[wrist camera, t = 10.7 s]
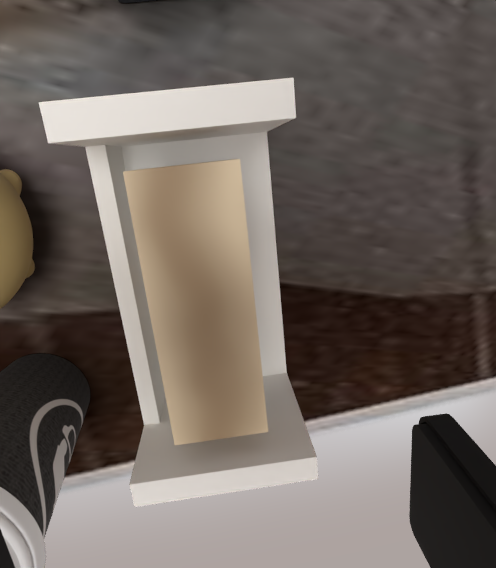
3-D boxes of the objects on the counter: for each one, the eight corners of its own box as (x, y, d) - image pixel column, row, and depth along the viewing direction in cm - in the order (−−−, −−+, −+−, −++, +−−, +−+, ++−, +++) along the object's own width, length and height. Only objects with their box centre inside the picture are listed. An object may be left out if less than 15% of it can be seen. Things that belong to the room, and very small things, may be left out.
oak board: (234, 158, 21) (239, 159, 17) (259, 391, 25) (268, 431, 22) (138, 169, 21) (122, 171, 17) (180, 402, 25) (174, 445, 21)
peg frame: (262, 107, 26) (293, 77, 16) (285, 383, 32) (317, 479, 22) (103, 123, 25) (38, 102, 16) (157, 401, 31) (134, 507, 22)
